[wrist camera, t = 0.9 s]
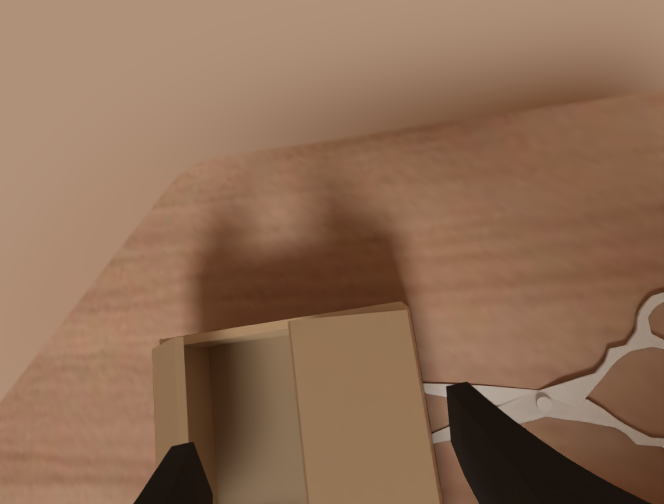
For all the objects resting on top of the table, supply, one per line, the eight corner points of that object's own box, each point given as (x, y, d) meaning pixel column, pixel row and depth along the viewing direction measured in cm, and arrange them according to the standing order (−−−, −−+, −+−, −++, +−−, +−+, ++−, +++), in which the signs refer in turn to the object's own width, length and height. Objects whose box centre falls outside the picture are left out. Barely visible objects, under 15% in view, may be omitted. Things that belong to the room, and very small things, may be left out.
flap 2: (461, 662, 19) (467, 667, 19) (329, 720, 17) (333, 727, 17) (402, 310, 23) (406, 309, 22) (287, 321, 20) (289, 320, 20)
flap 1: (203, 731, 17) (192, 737, 17) (171, 657, 22) (162, 661, 22) (183, 336, 21) (174, 337, 21) (159, 348, 26) (152, 349, 26)
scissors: (814, 491, 21) (391, 518, 25) (802, 486, 22) (392, 513, 26) (735, 270, 24) (362, 328, 28) (727, 272, 24) (364, 328, 28)
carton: (461, 609, 24) (464, 675, 19) (221, 611, 27) (172, 668, 22) (410, 308, 28) (401, 301, 23) (205, 340, 31) (159, 339, 26)
